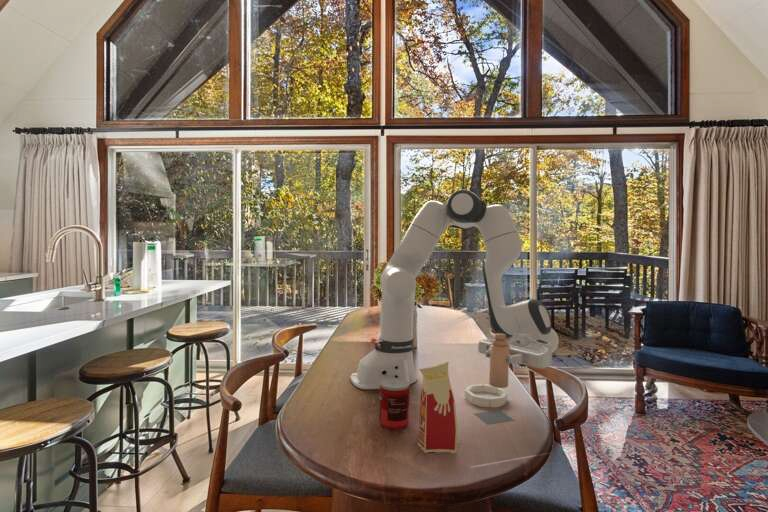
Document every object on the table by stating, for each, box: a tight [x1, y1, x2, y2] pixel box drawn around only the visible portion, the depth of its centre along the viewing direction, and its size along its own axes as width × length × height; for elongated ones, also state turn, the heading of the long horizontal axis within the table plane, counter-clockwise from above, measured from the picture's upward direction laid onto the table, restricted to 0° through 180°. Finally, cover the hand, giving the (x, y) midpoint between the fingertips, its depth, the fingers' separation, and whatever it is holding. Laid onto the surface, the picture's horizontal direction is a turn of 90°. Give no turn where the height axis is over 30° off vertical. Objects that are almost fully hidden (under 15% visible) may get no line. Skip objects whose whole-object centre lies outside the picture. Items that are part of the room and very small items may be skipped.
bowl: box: [464, 383, 508, 408], centre depth 130 cm, size 12×12×3 cm
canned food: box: [378, 378, 410, 431], centre depth 113 cm, size 8×8×11 cm
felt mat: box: [473, 409, 516, 425], centre depth 118 cm, size 8×7×1 cm
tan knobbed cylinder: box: [488, 333, 510, 389], centre depth 118 cm, size 5×5×14 cm
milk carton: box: [417, 361, 458, 454], centre depth 102 cm, size 9×9×20 cm
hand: (497, 357), depth 117 cm, fingers closed on tan knobbed cylinder, 5 cm apart
